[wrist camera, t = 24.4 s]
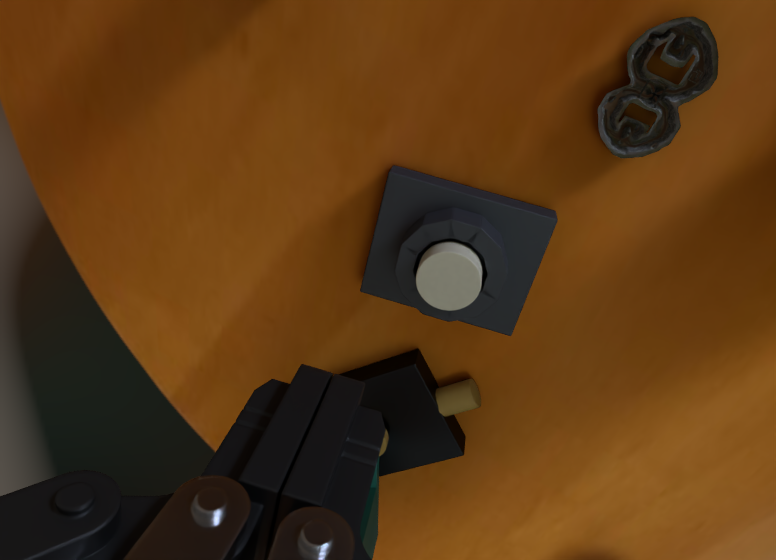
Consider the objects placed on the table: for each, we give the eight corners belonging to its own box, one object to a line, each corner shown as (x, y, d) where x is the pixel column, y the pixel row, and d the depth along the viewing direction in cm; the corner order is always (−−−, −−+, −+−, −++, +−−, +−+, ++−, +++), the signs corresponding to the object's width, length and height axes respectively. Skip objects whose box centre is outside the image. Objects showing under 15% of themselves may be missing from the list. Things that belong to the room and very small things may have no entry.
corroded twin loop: (575, 134, 35) (577, 138, 34) (653, -1, 32) (657, -1, 31) (650, 169, 35) (654, 173, 35) (736, 38, 32) (743, 39, 31)
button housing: (555, 210, 38) (561, 233, 34) (510, 324, 42) (511, 355, 38) (393, 164, 38) (381, 182, 35) (364, 281, 43) (352, 307, 39)
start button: (490, 251, 36) (490, 262, 34) (471, 305, 38) (470, 318, 36) (428, 233, 36) (425, 243, 35) (412, 287, 38) (408, 300, 36)
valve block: (452, 336, 43) (450, 353, 41) (498, 427, 46) (498, 447, 44) (288, 390, 48) (279, 407, 46) (339, 469, 51) (333, 488, 49)
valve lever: (351, 416, 45) (314, 519, 36) (389, 422, 45) (361, 527, 36) (351, 530, 51) (320, 643, 42) (385, 536, 50) (361, 651, 41)
